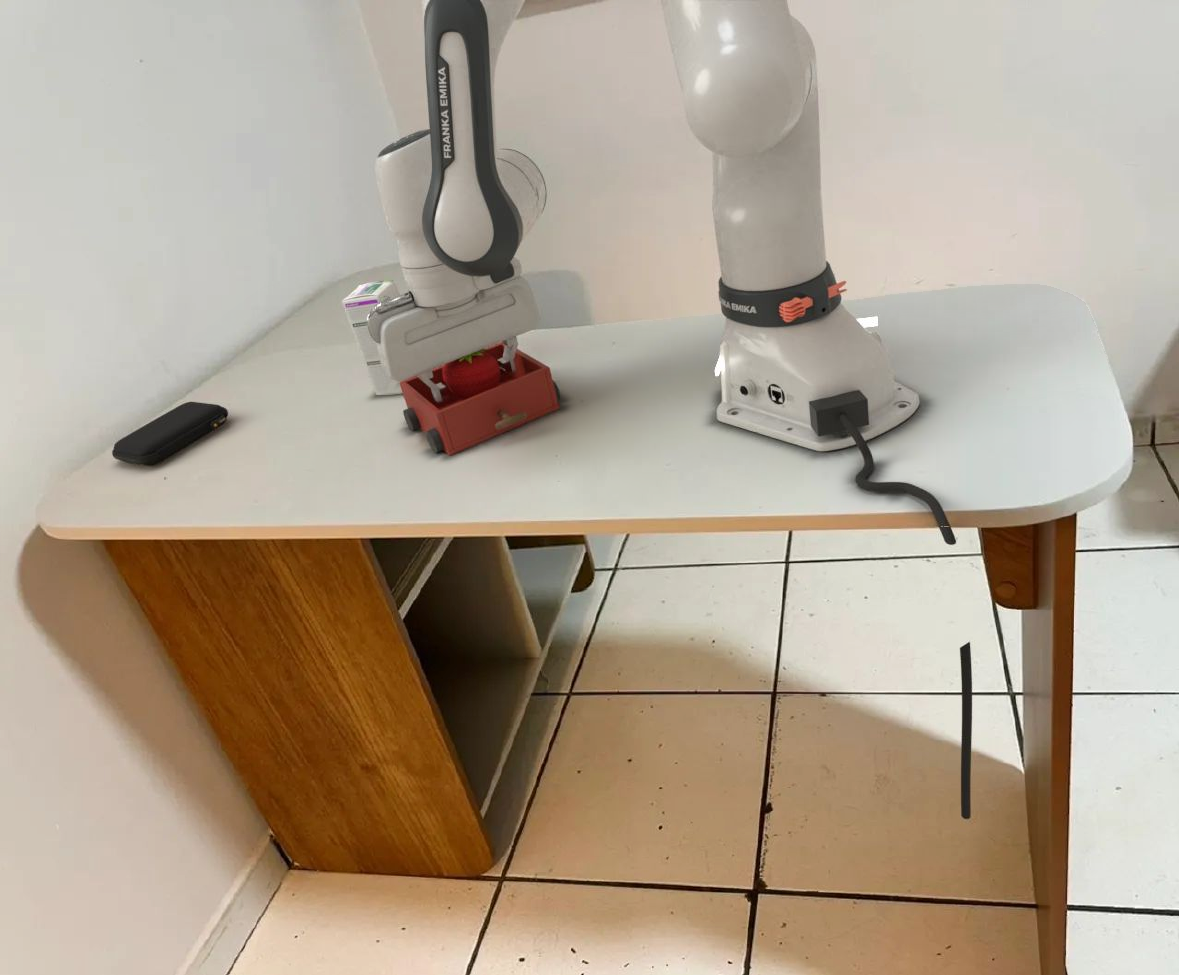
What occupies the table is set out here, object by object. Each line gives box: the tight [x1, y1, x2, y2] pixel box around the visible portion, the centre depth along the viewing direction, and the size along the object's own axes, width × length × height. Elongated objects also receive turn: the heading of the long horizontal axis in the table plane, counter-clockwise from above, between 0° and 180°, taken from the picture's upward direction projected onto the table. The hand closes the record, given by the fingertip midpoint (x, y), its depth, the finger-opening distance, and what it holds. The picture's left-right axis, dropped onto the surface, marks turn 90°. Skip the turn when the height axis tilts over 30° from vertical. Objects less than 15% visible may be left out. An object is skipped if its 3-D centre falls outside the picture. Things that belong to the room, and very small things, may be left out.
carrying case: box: [111, 401, 229, 467], centre depth 130 cm, size 11×3×15 cm
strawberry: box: [442, 349, 500, 401], centre depth 115 cm, size 6×8×10 cm
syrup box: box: [341, 279, 407, 396], centre depth 129 cm, size 6×6×14 cm
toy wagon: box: [399, 342, 562, 456], centre depth 115 cm, size 17×17×6 cm
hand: (475, 385), depth 116 cm, fingers open, 8 cm apart
